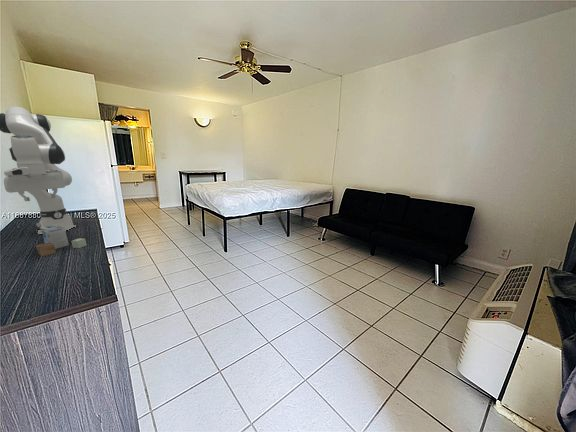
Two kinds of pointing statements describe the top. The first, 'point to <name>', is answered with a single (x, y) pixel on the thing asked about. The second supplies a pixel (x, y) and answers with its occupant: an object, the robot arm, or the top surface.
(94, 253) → the top surface
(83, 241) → the sage block
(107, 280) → the top surface
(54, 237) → the light bulb box
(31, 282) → the top surface
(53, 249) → the walnut cube
